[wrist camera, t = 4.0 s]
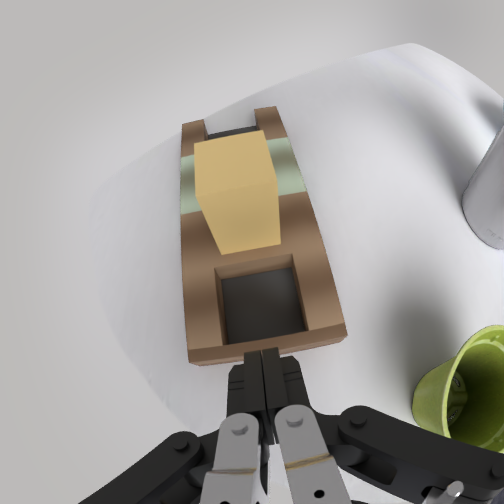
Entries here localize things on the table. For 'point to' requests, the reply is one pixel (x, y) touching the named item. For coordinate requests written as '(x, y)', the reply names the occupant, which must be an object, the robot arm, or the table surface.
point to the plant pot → (467, 393)
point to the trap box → (256, 267)
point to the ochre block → (238, 191)
